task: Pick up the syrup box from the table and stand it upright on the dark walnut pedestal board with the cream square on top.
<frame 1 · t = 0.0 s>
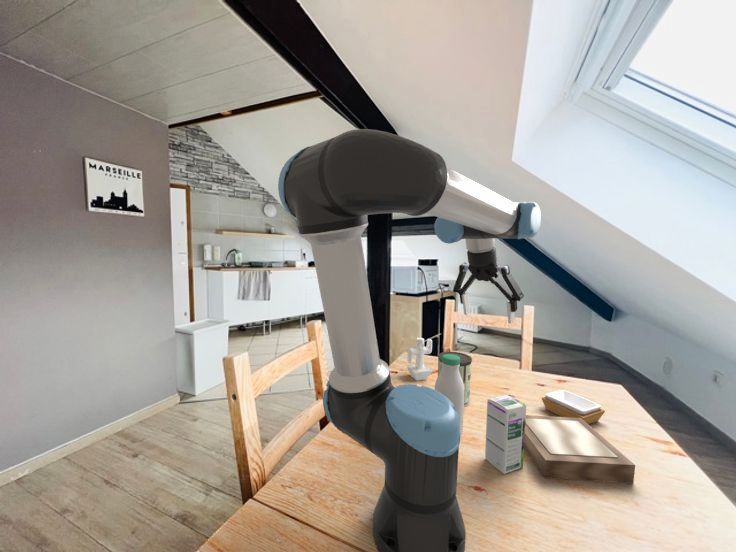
hand: (488, 317, 92), 28 cm above the table, tool tilted 20°, fingers open, 13 cm apart
pedestal: (563, 452, 74), on the table
figurine: (418, 378, 115), on the table
soap dish: (571, 416, 91), on the table
coffee can: (452, 400, 99), on the table
syrup box: (503, 463, 70), on the table
milk bottle: (447, 430, 82), on the table
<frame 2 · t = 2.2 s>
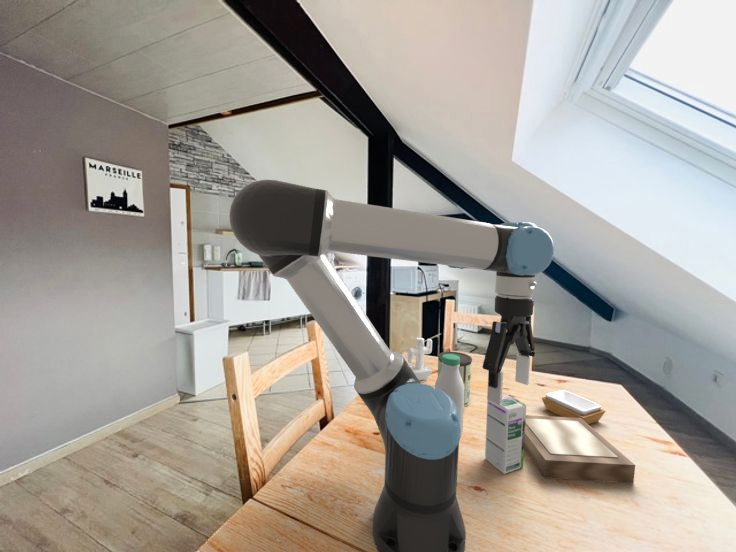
hand: (508, 391, 68), 17 cm above the table, tool pointing down, fingers open, 13 cm apart
nothing on the table moved.
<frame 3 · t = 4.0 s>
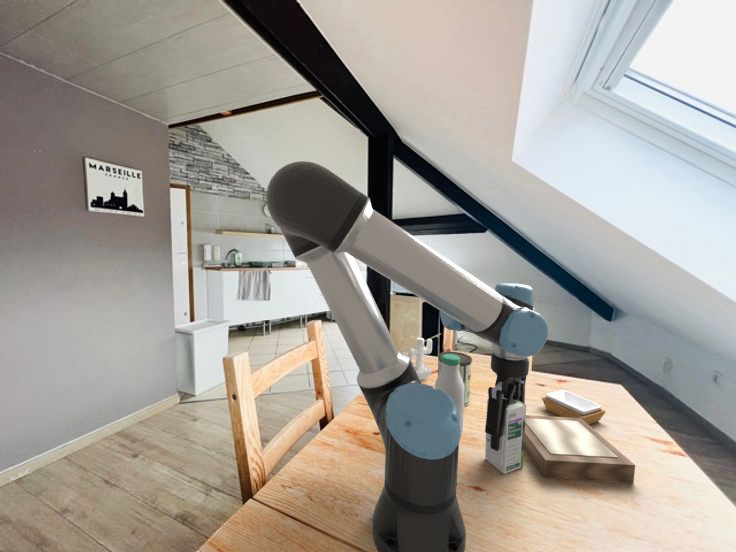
hand: (503, 454, 70), 2 cm above the table, tool pointing down, fingers closed on syrup box, 7 cm apart
syrup box: (503, 463, 70), on the table, touching gripper
everything else where it was.
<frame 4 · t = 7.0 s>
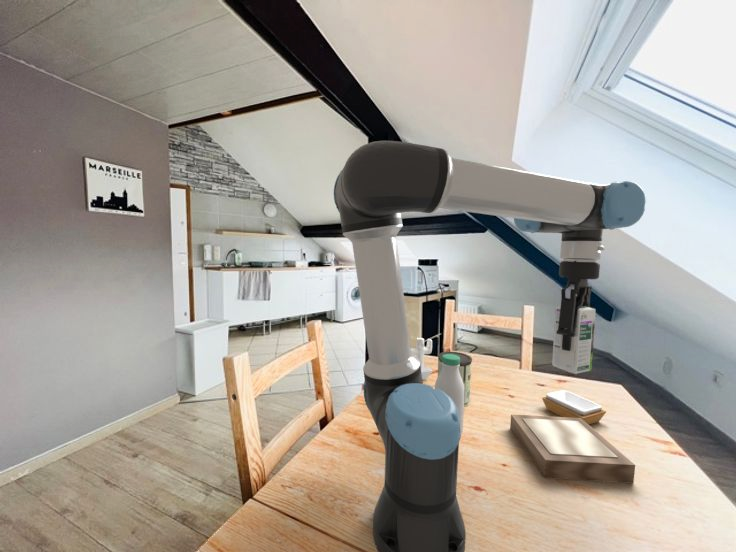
hand: (571, 359, 72), 23 cm above the table, tool pointing down, fingers closed on syrup box, 7 cm apart
syrup box: (570, 369, 72), point 20 cm above the table, touching gripper
everything else where it was.
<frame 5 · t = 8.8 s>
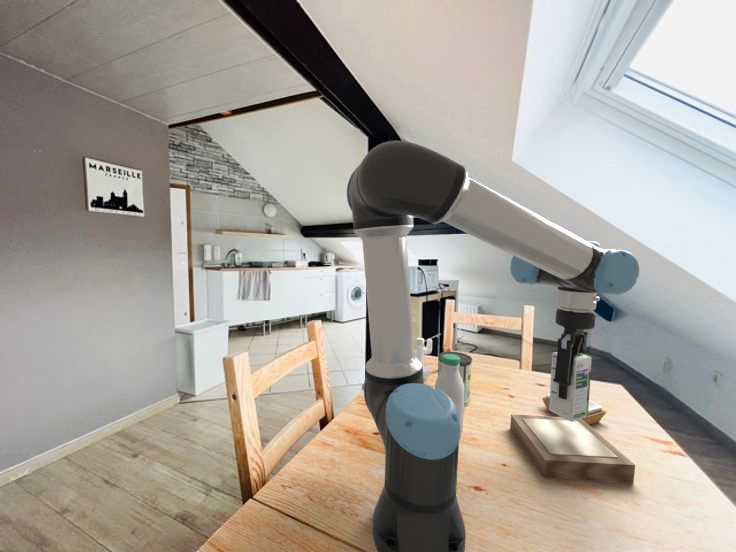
hand: (568, 405, 73), 12 cm above the table, tool pointing down, fingers closed on syrup box, 7 cm apart
syrup box: (567, 414, 73), point 9 cm above the table, touching gripper
everything else where it was.
when the fingers open (8 cm above the table, at t = 10.0 s): syrup box drops 2 cm, resting on pedestal.
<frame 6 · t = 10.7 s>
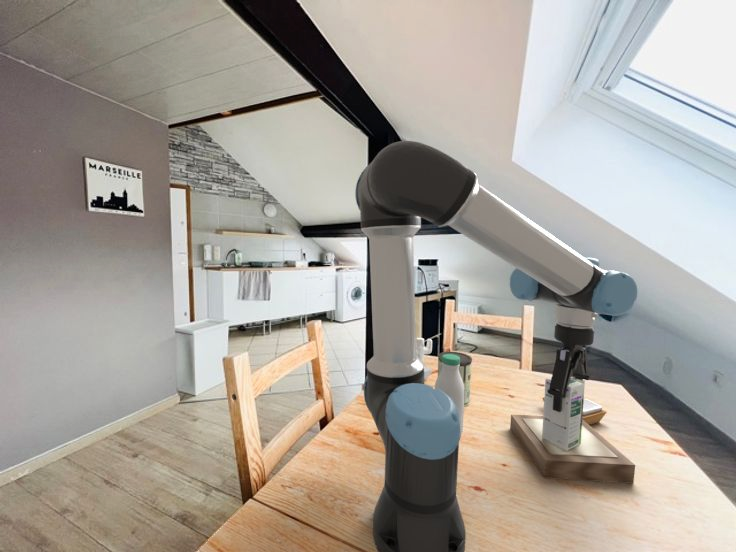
hand: (567, 413, 73), 10 cm above the table, tool pointing down, fingers open, 13 cm apart
syrup box: (560, 441, 71), point 4 cm above the table, touching gripper, pedestal
everything else where it was.
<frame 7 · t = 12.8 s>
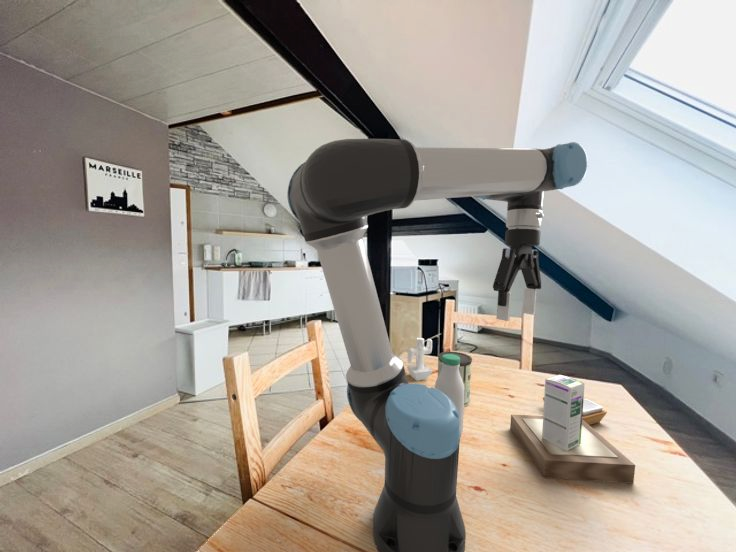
hand: (516, 316, 76), 31 cm above the table, tool pointing down, fingers open, 13 cm apart
syrup box: (560, 442, 71), point 4 cm above the table, touching pedestal
everything else where it was.
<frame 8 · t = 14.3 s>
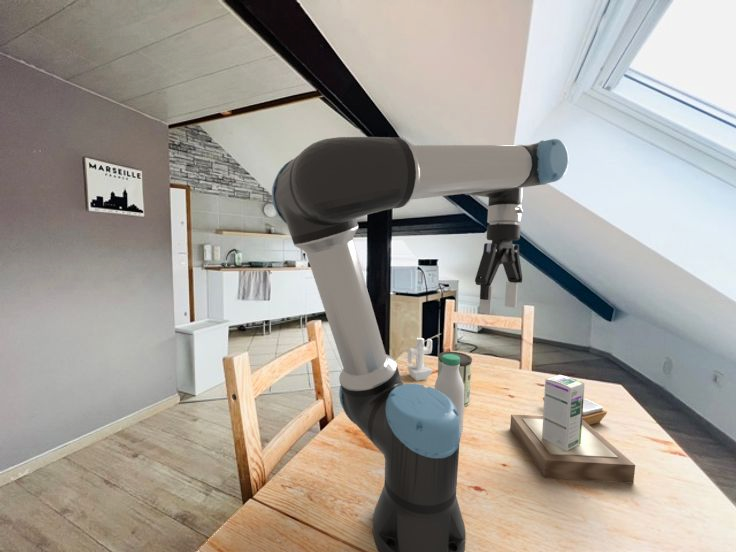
hand: (498, 310, 78), 33 cm above the table, tool pointing down, fingers open, 13 cm apart
nothing on the table moved.
at the end: syrup box inside the target area on the pedestal (3.3 cm from its centre), point 4.0 cm above the pedestal's base; syrup box tilted 0°; the gripper is holding nothing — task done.
